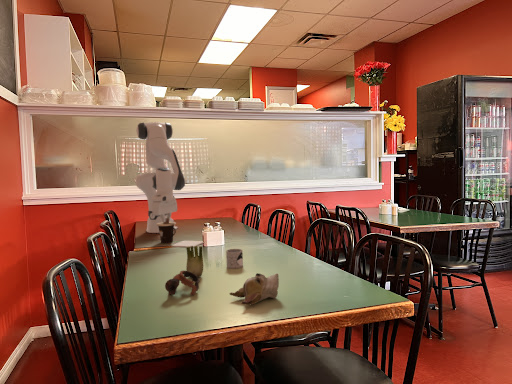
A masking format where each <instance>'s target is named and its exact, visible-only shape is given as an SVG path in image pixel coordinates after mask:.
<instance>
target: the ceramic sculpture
mask: <svg viewBox="0 0 512 384" xmlns="http://www.w3.org/2000/svg"><path fill="white" fill-rule="evenodd" d="M279 281H280V279H279V273H275V274H272V275H270V276H268V277H266V276H265V275H264V274H261V273H257V272H256V273H255V276H253V277H249V278H247V279H246V280H245V281H244V283H243V286H242V287H241V288H239V289H238V290H237V291H236V290H235V292H229V295H230V296H233V297H236V298H244V299H243V300H242V302H241V304H242V305H245V306H246V305H247V306H252V305H255V304H257V303H259V302H261V301H264V300H265V299H267V298H271V299H277V297H278V294H279V292H278V289H279V284H280V282H279ZM250 304H251V305H250Z"/></svg>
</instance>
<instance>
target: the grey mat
mask: <svg viewBox="0 0 512 384" xmlns="http://www.w3.org/2000/svg"><path fill="white" fill-rule="evenodd" d="M203 241H204V240H201V241H199V240H181V241H179V242H177V243H174V244H171V247H173V248H186V247H190V248H191V246H193V249H194V246H197V247H198V246H201V245H202V244H204V243H205V242H203Z"/></svg>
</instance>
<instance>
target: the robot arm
mask: <svg viewBox="0 0 512 384" xmlns="http://www.w3.org/2000/svg"><path fill="white" fill-rule="evenodd" d="M173 130H174V129H173V126H172V124H171V123H169V122H161V121H160V122H159V121H154V122H152V121H151V122H140V123H138V124H137V127H136V135H137V137H138V139H140V140H145V160H146V161H145V162H146V164H147V165H148V166H149V167H151V168H154V171H155V172H144V173H139V174H137V176H136V177H135V186H136V187H137V189H139V190H140V191H141V192H142V193H144V195H145V196H146V199H147V203H148V204H147V205H148V206H147V207H148V211H147V214H148V215H147V216H148V218H147V223H146V224H147V225H146V229H145V231H146V232H147V233H150V234H151V233H152V234H156V233H157V234H160V233H159V227H158V226H157V223H161V222H166V219H165V218H169V222H175V220H174V219H173V218H172V213H176V212H177V211H178V202H177V199H176V197H175V195H174V191H181V190H183V189H184V187H186V180H185V177H184V174H183V172H182V168H181V165H180V162H179V159H178V157H177V154H176V152H175V150H174V149H173V148H171V147H170V145H169V143H168V140H169V139H171V138H172V137H173V133H174V132H173ZM165 160H166V161H168V163H170V165H171V168H172V170H171V169H170V168H168V167H167V166H166V163H165ZM172 171H173V173H172ZM178 227H179V226H176V225H174V228H175V230H177V229H178Z"/></svg>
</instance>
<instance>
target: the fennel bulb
mask: <svg viewBox="0 0 512 384" xmlns="http://www.w3.org/2000/svg"><path fill="white" fill-rule="evenodd" d="M198 246H199V247H198ZM198 246H194V248H193V246H191V247H185V248H186V255H187V259H186V267H185V268H186V270H185V271H189V272H191V273H193V274H195V275H196V276H197V277H198V278H200V277H202V276H203V272H204V259H203V258H204V257H203V246H202V245H198Z"/></svg>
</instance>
